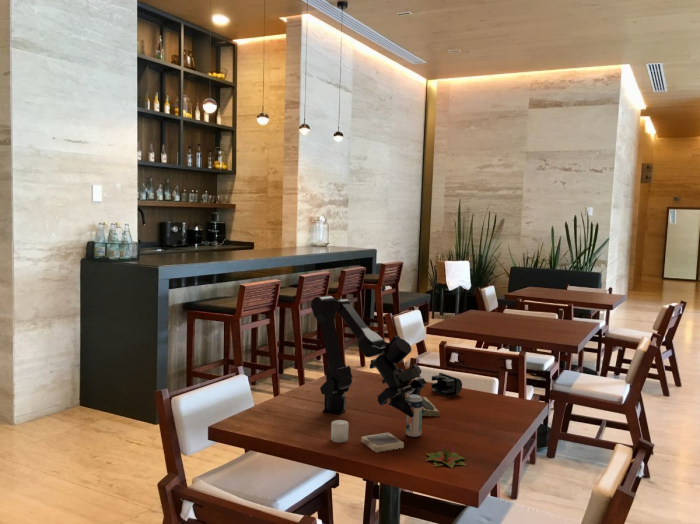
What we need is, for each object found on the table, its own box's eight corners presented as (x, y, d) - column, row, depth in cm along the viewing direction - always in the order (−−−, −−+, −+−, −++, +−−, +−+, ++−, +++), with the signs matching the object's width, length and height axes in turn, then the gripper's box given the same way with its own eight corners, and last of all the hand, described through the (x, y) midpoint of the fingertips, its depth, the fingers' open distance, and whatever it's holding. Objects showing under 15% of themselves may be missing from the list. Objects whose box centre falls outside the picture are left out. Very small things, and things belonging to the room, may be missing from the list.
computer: (440, 417, 202) (440, 407, 202) (416, 418, 201) (416, 408, 201) (426, 403, 218) (427, 394, 218) (405, 404, 217) (405, 394, 216)
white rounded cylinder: (328, 441, 178) (329, 424, 177) (334, 435, 183) (334, 419, 182) (345, 443, 176) (345, 426, 176) (350, 437, 181) (350, 421, 181)
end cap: (462, 395, 228) (462, 377, 227) (447, 398, 224) (448, 379, 223) (444, 388, 236) (445, 371, 236) (430, 391, 232) (430, 373, 232)
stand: (361, 441, 178) (361, 436, 178) (388, 437, 182) (388, 432, 182) (376, 452, 170) (376, 446, 170) (403, 447, 174) (403, 442, 173)
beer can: (404, 432, 186) (405, 393, 185) (419, 432, 187) (420, 393, 186) (407, 437, 181) (408, 398, 181) (422, 437, 182) (423, 398, 181)
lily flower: (459, 452, 172) (460, 436, 172) (474, 470, 160) (474, 453, 160) (418, 454, 170) (419, 438, 170) (430, 471, 159) (430, 454, 158)
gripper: (385, 362, 178) (415, 407, 172) (422, 352, 192) (451, 393, 185) (364, 383, 184) (392, 427, 177) (402, 372, 198) (429, 413, 191)
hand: (417, 414), depth 183 cm, fingers closed on beer can, 5 cm apart
